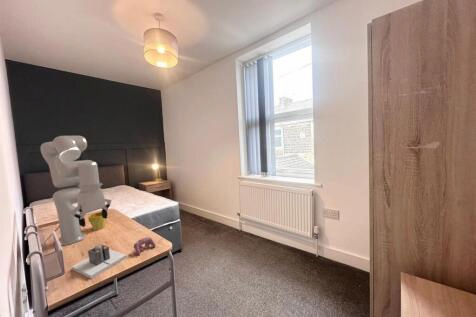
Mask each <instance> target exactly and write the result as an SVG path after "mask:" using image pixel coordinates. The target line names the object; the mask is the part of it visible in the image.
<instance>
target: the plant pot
mask: <svg viewBox="0 0 476 317" xmlns="http://www.w3.org/2000/svg"><path fill="white" fill-rule="evenodd" d="M87 218H88V222H89V223H90V225H91V227H92V229H93V231H100V230H102V229H105V227H106V224H107V223H106V222H107V218H106V219H105V218H102V211H98V212H94V213H92V214H90V215H88V216H87Z"/></svg>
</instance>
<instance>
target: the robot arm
mask: <svg viewBox="0 0 476 317" xmlns="http://www.w3.org/2000/svg"><path fill="white" fill-rule="evenodd" d="M87 147H88V141H87V140H86V137H84V136H83V135H82V136H81V135H59V136H56V137H55V138H54V139H53V140H52V141H48V142H43V143H42V144H41V145H40V153H41V156H42V158H43V159H44V160H45V162H46V164H48V168H49V172H50V177H51V180H52V184H53V186H54V187H55V188H60V190H57V191H55V192H54V193H53V195H52V200H53V203H54V206H55V209H56V213H57V214H56V215H57V219H58V227H59V234H60V238H61V239H59V241H60V243H61V244H62V245H61V246H67V245H73V244H75V243H78V242H80V241H82V240H84V239H85V238H86V234H85V233H84V232H82V228H84V227H86V218H84V217H85V216H86V215H87V214H89V213H92V212H95V211H99V210H101V212H102V218H105V219H106V220H107V219H108V210H109V208H110V206H111V205H112V204H111V203H112V200H111V199H107V198H105V195H104V192H103V188H101V186H103V182H100V178H99V177H100V176H99V175H100V174H99V167H98V163H97V162H96V161H93V160H91V159H85V160H84V159H83V160H77V159H79V158H80V157H81V154H82V153H83V152H84V151H85V150H86V149H87ZM72 186H74V187H72ZM75 186H76V187H75ZM65 187H66V188H65ZM67 187H70V188H67ZM61 188H64V189H61ZM74 204H77V206H74Z"/></svg>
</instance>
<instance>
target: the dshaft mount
mask: <svg viewBox="0 0 476 317" xmlns="http://www.w3.org/2000/svg"><path fill="white" fill-rule="evenodd" d="M102 245H103V244H102ZM102 245H101V244H99V245H96V246H95V247H94V248H95V252H96V251H100V258H101V264H99V265H97V266H96V265H94V264H91V263H90V262H89V257H87V258H85V259H83V260H81V261H80V262H77V263H76V264H74V265H72V266H71V269H73V271H74V272H76V273H78V274H81V275H83V276H84V277H87V278H88V279H94V278H95V277H97V276H99V275H100V274H102V273H103V272H106V271H107V270H108V269H110V268H113V267H114V266H115V265H117V264H119V263H120V262H122V261H124V260H125V259H127V254H124V253H121V252H119V251H116V250H114V249H113V250H112V249H110V248H109V254H110V259H108V260H105V258H103V250H102Z"/></svg>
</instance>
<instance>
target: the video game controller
mask: <svg viewBox="0 0 476 317" xmlns="http://www.w3.org/2000/svg"><path fill="white" fill-rule="evenodd" d="M143 245H144V246H143ZM150 245H151V246H152V248H156V246H157V245H156V243H155V241H154V239H153V238H151V237H150V236H147V237H143V238H141V239H139V240H137V241H136V242H135V243H134V244H133V249H134V251H135V253H136V254H137V255H138V256H140V255H141V251H144V249H149V248H150Z"/></svg>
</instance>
